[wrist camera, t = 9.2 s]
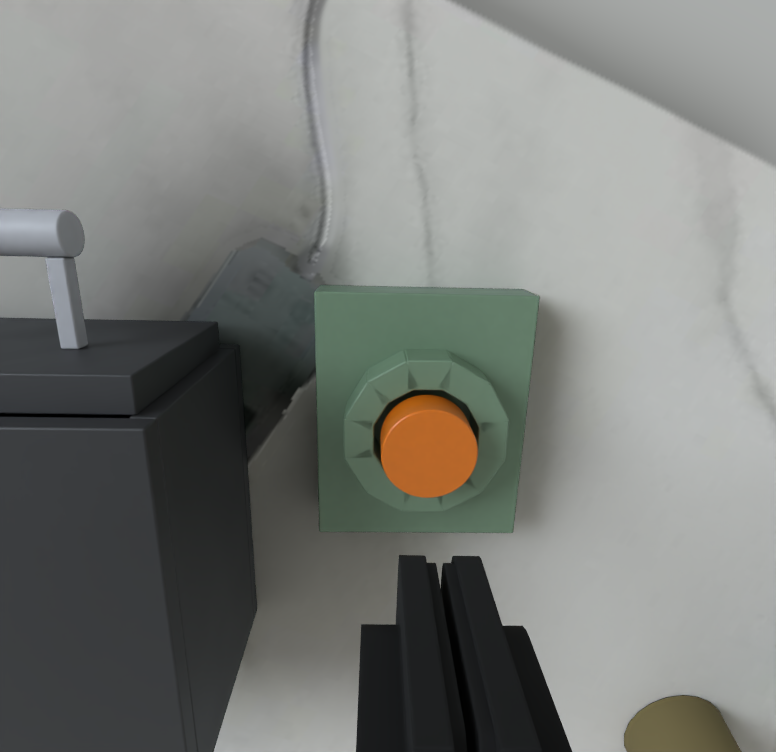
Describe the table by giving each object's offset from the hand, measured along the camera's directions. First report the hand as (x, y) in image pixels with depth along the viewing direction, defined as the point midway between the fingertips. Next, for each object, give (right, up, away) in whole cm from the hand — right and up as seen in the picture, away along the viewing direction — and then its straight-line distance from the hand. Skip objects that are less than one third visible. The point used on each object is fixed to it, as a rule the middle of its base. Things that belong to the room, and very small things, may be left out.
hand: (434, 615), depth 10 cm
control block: (0, +4, +13) cm, 14 cm away
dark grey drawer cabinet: (-14, -1, +14) cm, 20 cm away
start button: (+1, +3, +10) cm, 10 cm away
